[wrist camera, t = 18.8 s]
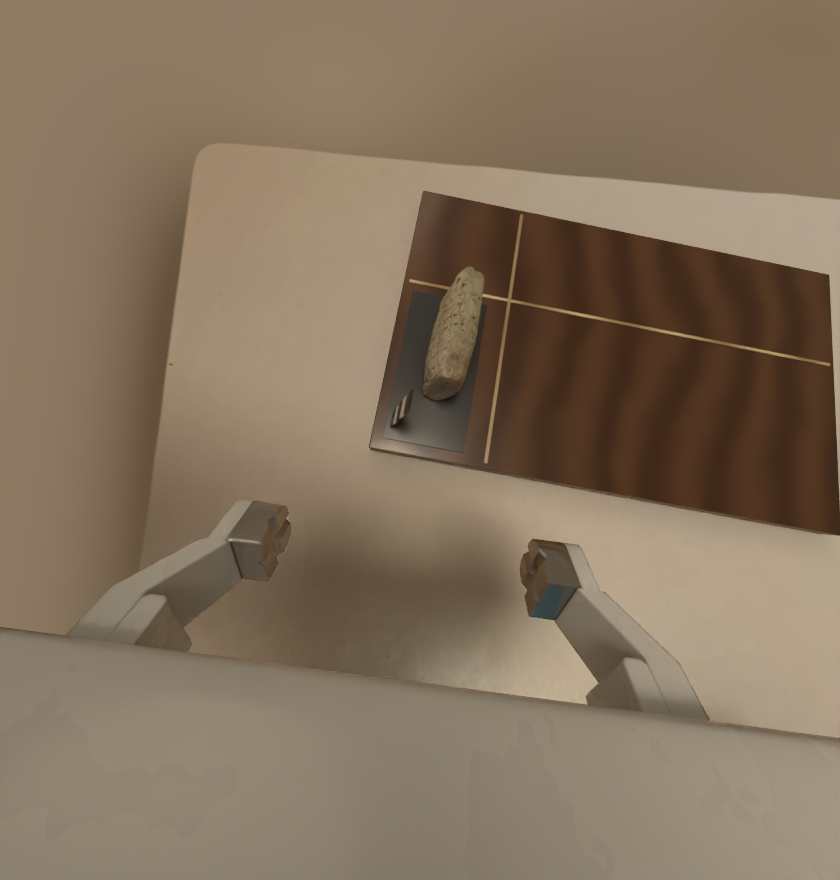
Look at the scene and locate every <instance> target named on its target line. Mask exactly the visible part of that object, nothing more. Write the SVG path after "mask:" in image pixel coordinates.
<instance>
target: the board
mask: <svg viewBox="0 0 840 880" xmlns="http://www.w3.org/2000/svg"><path fill="white" fill-rule="evenodd" d="M469 266H471V267H473V268H474V269H475V270H476V271H478V272H481V273H482V274H483V276H484V291H483V295H482V306H481V314H480V318H479V319H480V320H479V325H478V328H477V329H478V333H477V337H476V342H475V346H474V350H473V353H472V357H471V359H470V364H469V366H468V369H467V375H466V378H465V380H464V382H463V385H462V387H461V389H460V390H459V391H458V392H457V393H456V394H454V395H453V396H451V397H449V398H446V399H443V400H438V401H436V400H432V399H429V398H428V397H426V396H425V395H424V393H423V385H424V376H425V362H426V357H427V353H428V348H429V342H430V339H431V334H432V330H433V326H434V324H435V322H436V319H437V315H438V311H439V306H440V302H441V300H442V298H443V297H444V296H445V294H446V293H447V291H448V290H449V288H450V287H451V285H452V284H453V282H454V281H455V279H456V277H457V275H458V274H459V273H460V272H461V271H462V270H463V269H465V268H467V267H469ZM411 389H414V391H413V396H412V401H411V406H410V411H409V412H408V413H407V414H405V415H404V416H403V417H402V418H401V419H400V420H399V421H398V422H397V423H396V424H395V425H394V426H393V427H390V425H391V420H392V415H393V411H394V410H395V408H396V407H397V406H398V405H399V404H400V402H401V401H402V400H403V399H404V398H405V396H406V395H407V394H408V393H409V391H410V390H411ZM369 448H370V449H371V450H375V451H381V452H386V453H391V454H397V455H402V456H407V457H413V458H418V459H423V460H429V461H434V462H439V463H445V464H450V465H455V466H461V467H466V468H471V469H477V470H482V471H487V472H493V473H498V474H503V475H509V476H514V477H520V478H525V479H530V480H536V481H541V482H546V483H552V484H557V485H562V486H568V487H573V488H578V489H584V490H589V491H594V492H600V493H605V494H610V495H616V496H621V497H626V498H632V499H637V500H642V501H648V502H653V503H658V504H664V505H669V506H675V507H680V508H685V509H691V510H696V511H701V512H707V513H712V514H717V515H723V516H728V517H733V518H739V519H744V520H749V521H755V522H760V523H765V524H771V525H776V526H781V527H787V528H792V529H797V530H803V531H808V532H813V533H819V534H828V535H839V536H840V505H839V483H838V461H837V438H836V416H835V394H834V372H833V350H832V328H831V306H830V284H829V275H827V274H823V273H818V272H813V271H808V270H803V269H798V268H794V267H789V266H784V265H779V264H774V263H770V262H765V261H760V260H755V259H750V258H745V257H741V256H736V255H731V254H726V253H721V252H717V251H712V250H707V249H702V248H697V247H692V246H688V245H683V244H678V243H673V242H668V241H664V240H659V239H654V238H649V237H644V236H639V235H635V234H630V233H625V232H620V231H615V230H610V229H606V228H601V227H596V226H591V225H586V224H582V223H577V222H572V221H567V220H562V219H557V218H553V217H548V216H543V215H538V214H533V213H529V212H524V211H519V210H514V209H509V208H504V207H500V206H495V205H490V204H485V203H480V202H475V201H471V200H466V199H461V198H456V197H451V196H447V195H442V194H437V193H432V192H427V191H423V194H422V199H421V203H420V208H419V213H418V218H417V222H416V227H415V232H414V237H413V241H412V246H411V251H410V255H409V260H408V265H407V270H406V274H405V279H404V284H403V289H402V293H401V298H400V303H399V307H398V312H397V317H396V322H395V326H394V331H393V336H392V341H391V345H390V350H389V355H388V359H387V364H386V369H385V374H384V378H383V383H382V388H381V393H380V397H379V402H378V407H377V411H376V416H375V421H374V426H373V430H372V435H371V440H370V445H369Z"/></svg>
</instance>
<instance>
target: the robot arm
mask: <svg viewBox="0 0 840 880" xmlns="http://www.w3.org/2000/svg"><path fill="white" fill-rule="evenodd" d="M288 514H289V513H288V508H287V506H284V505H277V504H271V503H265V502H259V501H252V500H245V499H239V500H237V501H236V502H235V503H234V504H233V505H232V506H231V508H230V509H229V510H228V511H227V513H226V514H225V515H224V517H223V518H222V519H221V520H220V522H219V523H218V524H217V526H216V527H215V528H214V529H213V531H212V532H211V533H210V535H209V536H208V537H207V538H200V539H198V540H197V541H195V542H193V543H191V544H189V545H187V546H185V547H184V548H182V549H180V550H178V551H176V552H174V553H173V554H171V555H169V556H167V557H165V558H163V559H161V560H160V561H158V562H156V563H154V564H152V565H150V566H148V567H147V568H145V569H143V570H141V571H139V572H137V573H136V574H134V575H132V576H130V577H128V578H126V579H124V580H123V581H121V582H119V583H117V584H115V585H113V586H111V587H110V588H109V590H108V591H107V592H106V593H105V594H104V595H103V596H102V597H101V598H100V599H99V600H98V601H97V602H96V603H95V604H94V605H93V607H92V608H91V609H90V610H89V611H88V612H87V613H86V614H85V615H84V616H83V617H82V618H81V619H80V620H79V621H78V623H76V625H75V626H74V627H73V628H72V629H71V630H70V631H69V632H68V633H67V634H66V635H65V636H63V635H56V634H48V633H40V632H33V631H25V630H18V629H10V628H3V627H0V880H840V738H835V737H827V736H819V735H812V734H804V733H797V732H789V731H782V730H774V729H767V728H759V727H752V726H744V725H737V724H729V723H722V722H714V721H710V720H709V718H708V716H707V714H706V712H705V710H704V708H703V707H702V705H701V703H700V701H699V699H698V697H697V695H696V693H695V692H694V690H693V688H692V686H691V684H690V682H689V680H688V678H687V677H686V675H685V673H684V671H683V669H682V667H681V665H680V663H679V662H678V661H677V660H675V659H674V658H673V657H672V656H671V655H670V654H669V653H668V652H667V651H666V650H665V649H664V648H663V647H662V646H661V645H660V644H659V643H658V642H657V641H656V640H655V639H654V638H652V637H651V636H650V635H649V634H648V633H647V632H646V631H645V630H644V629H643V628H642V627H641V626H640V625H639V624H638V623H637V622H636V621H635V620H634V619H633V618H632V617H630V616H629V615H628V614H627V613H626V612H625V611H624V610H623V609H622V608H621V607H620V606H619V605H618V604H617V603H616V602H615V601H614V600H613V599H612V598H611V597H610V596H609V595H607V594H606V593H605V592H602V591H600V590H599V588H598V585H597V583H596V581H595V578H594V576H593V574H592V571H591V569H590V567H589V564H588V562H587V560H586V557H585V555H584V553H583V550H582V548H581V547H580V546H579V545H575V544H568V543H561V542H553V541H545V540H537V539H532V540H531V541H530V542H529V544H528V550H529V552H527V553H525V554H524V555H523V557H522V559H521V564H520V577H521V582H522V584H523V585H524V586H525V588H526V589H527V592H526V594H525V596H524V597H525V601H526V606H527V610H528V615H529V616H530V617H536V618H543V619H549V620H555V623H556V624H557V626H558V627H559V628H560V630H561V631H562V632H563V634H564V635H565V637H566V638H567V639H568V641H569V642H570V644H571V645H572V646H573V648H574V649H575V651H576V652H577V653H578V655H579V656H580V658H581V659H582V660H583V662H584V663H585V664H586V666H587V667H588V669H589V670H590V671H591V673H592V674H593V676H594V677H595V678H596V680H597V681H598V684H597V685H596V686H595V687H594V688H593V689H592V690H591V691H590V692H589V693H588V694H587V695H586V699H587V703H588V705H585V704H578V703H570V702H563V701H555V700H548V699H540V698H533V697H525V696H518V695H510V694H502V693H495V692H487V691H480V690H472V689H465V688H457V687H450V686H442V685H435V684H427V683H419V682H412V681H404V680H397V679H389V678H382V677H374V676H367V675H359V674H352V673H344V672H336V671H329V670H321V669H314V668H306V667H299V666H291V665H283V664H276V663H268V662H261V661H253V660H246V659H238V658H230V657H223V656H215V655H208V654H200V653H192V652H188V651H189V649H190V647H191V646H192V642H191V639H190V637H189V636H188V634H187V632H186V631H185V629H184V627H185V626H186V625H187V624H188V623H189V622H191V621H192V620H193V619H194V618H196V617H197V616H198V615H199V614H201V613H202V612H203V611H204V610H206V609H207V608H208V607H209V606H210V605H212V604H213V603H214V602H215V601H217V600H218V599H219V598H220V597H222V596H223V595H224V594H225V593H227V592H228V591H229V590H230V589H231V588H233V587H234V586H235V585H236V584H238V583H239V582H240V581H241V580H242V579H251V580H260V581H269V580H270V578H271V576H272V574H273V572H274V570H275V568H276V566H277V564H278V559H277V556H278V555H279V554H281V553H282V552H284V551H285V548H286V546H287V544H288V541H289V538H290V533H291V526H290V522H289V521H288V520H287V519H286V518H287V516H288Z"/></svg>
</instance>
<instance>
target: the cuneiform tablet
mask: <svg viewBox="0 0 840 880" xmlns="http://www.w3.org/2000/svg"><path fill="white" fill-rule="evenodd" d="M483 291H484V276H483V274H482V273H481V272H478V271H476V270H475V269H474V268H473V267H471V266H469V267H467V268H465V269H463V270H462V271H461V272H460V273H459V274H458V275H457V277H456V279H455V281H454V282H453V284H452V285H451V287H450V288H449V290H448V291H447V293H446V294H445V296H444V297H443V298H442V300H441V302H440V306H439V311H438V315H437V319H436V322H435V324H434V326H433V330H432V334H431V339H430V342H429V348H428V353H427V357H426V362H425V376H424V385H423V393H424V395H425V396H426V397H428V398H429V399H432V400H436V401H438V400H443V399H446V398H449V397H451V396H453V395H454V394H456V393H457V392H458V391H459V390H460V389H461V387H462V385H463V382H464V380H465V378H466V375H467V369H468V366H469V364H470V359H471V357H472V353H473V350H474V346H475V342H476V337H477V333H478V329H477V328H478V325H479V320H480V319H479V318H480V314H481V306H482V295H483ZM413 391H414V389H411V390H410V391H409V393H408V394H407V395H406V396H405V398H404V399H403V400H402V401H401V402H400V404H399V405H398V406H397V407H396V408H395V410H394V411H393V415H392V420H391V425H390V427H393V426H394V425H395V424H396V423H397V422H398V421H399V420H400V419H401V418H402V417H403V416H404V415H405V414H407V413H408V412H409V411H410V406H411V401H412V396H413Z"/></svg>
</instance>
